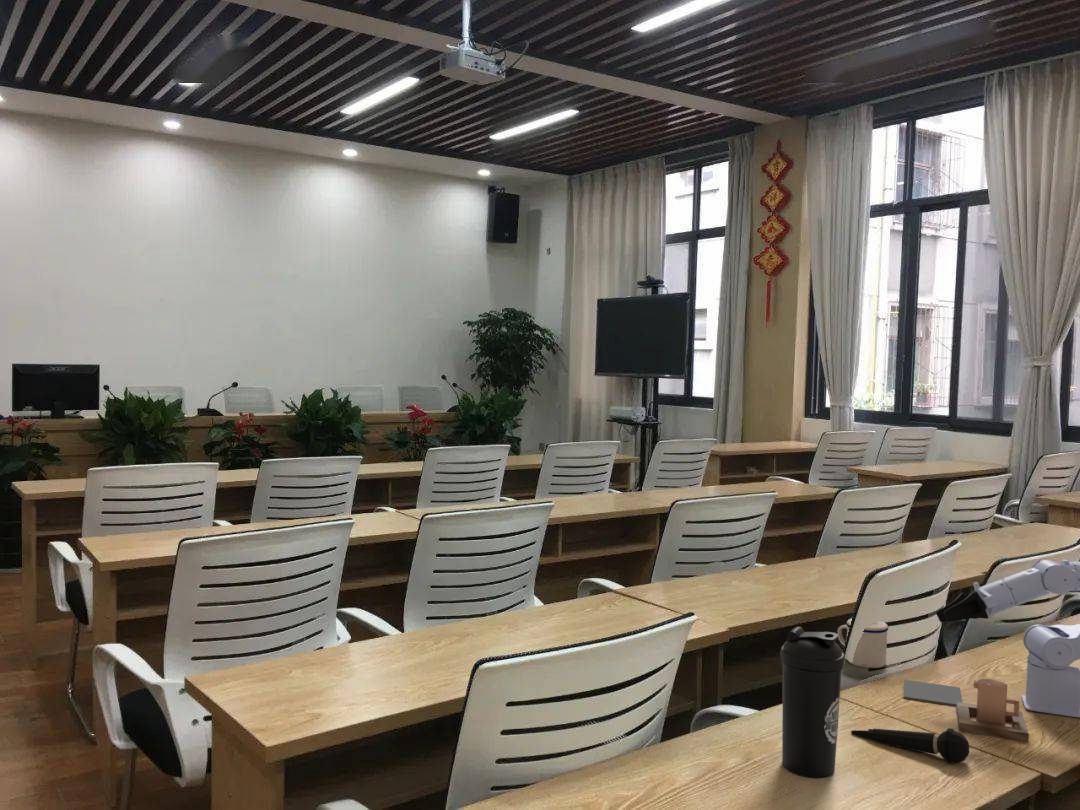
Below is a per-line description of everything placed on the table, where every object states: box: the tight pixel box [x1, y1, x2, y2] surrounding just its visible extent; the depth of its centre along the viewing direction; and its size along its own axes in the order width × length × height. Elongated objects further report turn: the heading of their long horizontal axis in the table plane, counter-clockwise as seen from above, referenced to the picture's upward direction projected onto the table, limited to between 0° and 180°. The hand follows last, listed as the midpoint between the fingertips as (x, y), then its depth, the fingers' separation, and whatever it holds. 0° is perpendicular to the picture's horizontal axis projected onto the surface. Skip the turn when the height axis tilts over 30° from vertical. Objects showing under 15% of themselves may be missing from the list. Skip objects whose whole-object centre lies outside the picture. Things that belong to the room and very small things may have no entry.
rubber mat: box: [903, 679, 963, 707], centre depth 187 cm, size 11×11×1 cm
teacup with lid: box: [837, 617, 889, 669], centre depth 207 cm, size 12×9×12 cm
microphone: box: [850, 727, 970, 764], centre depth 159 cm, size 6×6×20 cm
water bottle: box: [780, 626, 845, 779], centre depth 151 cm, size 10×10×23 cm
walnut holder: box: [955, 702, 1030, 742], centre depth 171 cm, size 12×12×2 cm
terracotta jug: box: [972, 678, 1020, 726], centre depth 170 cm, size 8×5×8 cm, turn 67°
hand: (941, 617), depth 182 cm, fingers open, 7 cm apart
